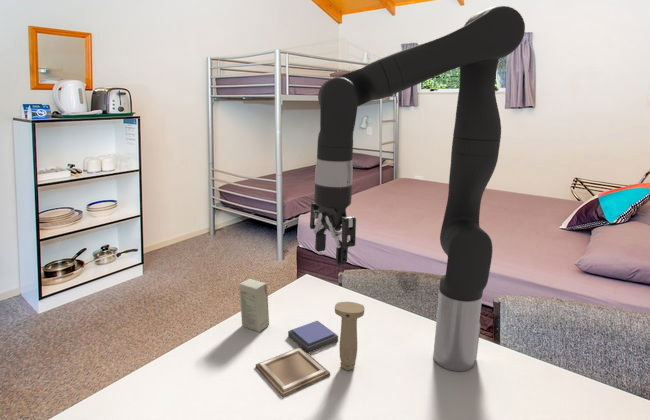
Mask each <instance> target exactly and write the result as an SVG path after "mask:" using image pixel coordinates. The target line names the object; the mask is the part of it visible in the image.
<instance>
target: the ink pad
mask: <svg viewBox="0 0 650 420" xmlns="http://www.w3.org/2000/svg"><path fill="white" fill-rule="evenodd" d="M287 335H288V337H289V338H290V339H291V340H292V341H293V342H295V344H297V346H299V347H301V348H302V349H304V350H305V351H306V352H307V353H308V354H310V353H313V352H315V351H317V350H320V349H322V348H325V347H327V346H329V345H333V344H334V343H336V342H339V335H338V334H336V333H335V332H334V331H332V330H331V329H330V328H328V327H327V326H325V325H324V324H323V323H322V322H320V321H319V320H315V321H312V322H309V323H306V324H303V325H301V326H299V327H296V328H293V329H290V330H288V333H287Z"/></svg>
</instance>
